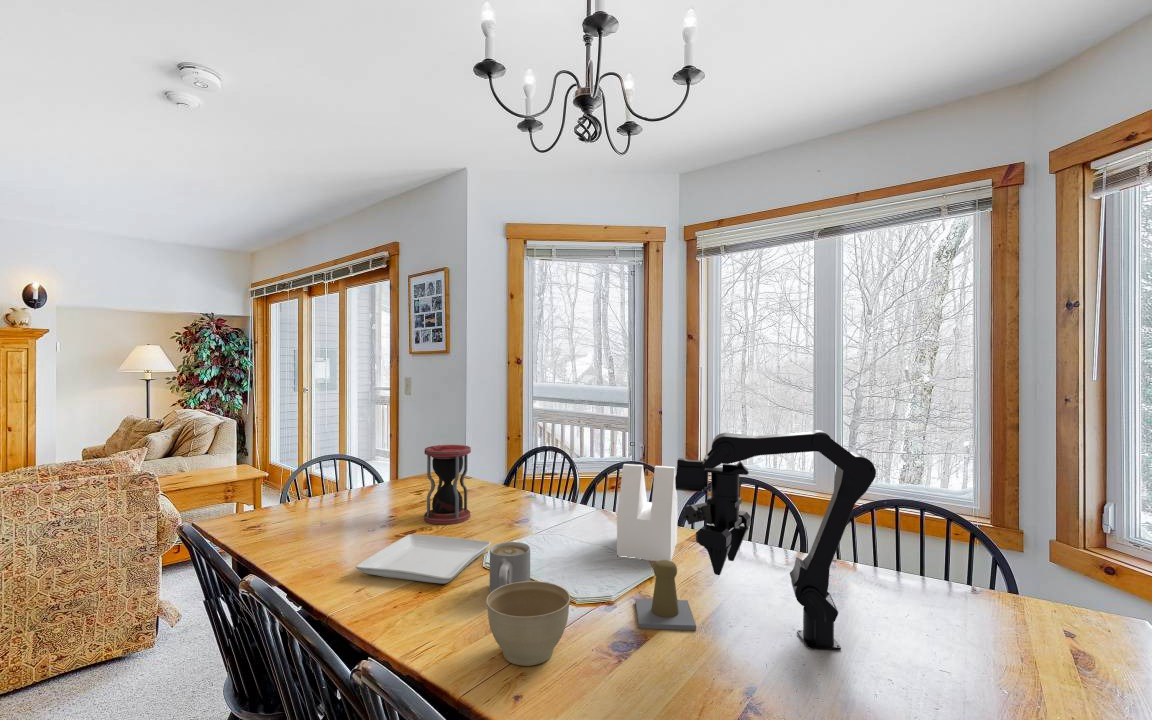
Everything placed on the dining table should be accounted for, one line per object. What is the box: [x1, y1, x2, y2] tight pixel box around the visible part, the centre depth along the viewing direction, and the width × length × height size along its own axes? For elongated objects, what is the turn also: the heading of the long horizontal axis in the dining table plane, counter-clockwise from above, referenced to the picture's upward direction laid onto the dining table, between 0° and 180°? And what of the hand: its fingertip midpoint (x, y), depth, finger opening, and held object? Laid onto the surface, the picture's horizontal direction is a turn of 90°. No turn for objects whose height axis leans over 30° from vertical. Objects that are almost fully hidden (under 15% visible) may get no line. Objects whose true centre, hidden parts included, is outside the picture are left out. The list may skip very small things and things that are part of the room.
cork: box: [651, 560, 679, 618], centre depth 120 cm, size 6×6×11 cm
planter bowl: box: [485, 580, 571, 667], centre depth 104 cm, size 16×16×11 cm
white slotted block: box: [616, 463, 678, 562], centre depth 163 cm, size 19×15×25 cm
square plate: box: [354, 533, 492, 585], centre depth 149 cm, size 27×27×4 cm
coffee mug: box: [489, 541, 531, 594], centre depth 132 cm, size 13×10×10 cm
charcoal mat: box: [635, 598, 697, 631], centre depth 120 cm, size 12×12×1 cm
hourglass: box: [423, 444, 472, 525], centre depth 192 cm, size 16×16×25 cm
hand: (724, 567), depth 114 cm, fingers open, 9 cm apart
